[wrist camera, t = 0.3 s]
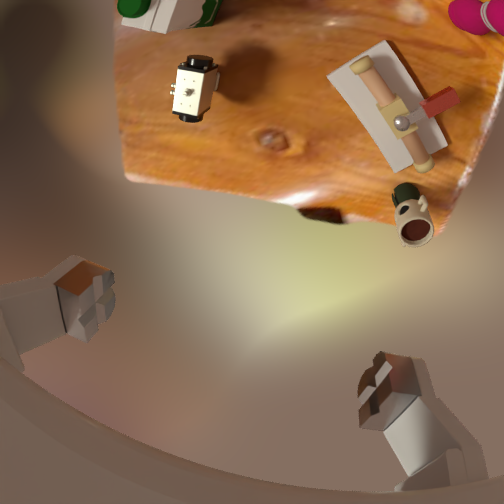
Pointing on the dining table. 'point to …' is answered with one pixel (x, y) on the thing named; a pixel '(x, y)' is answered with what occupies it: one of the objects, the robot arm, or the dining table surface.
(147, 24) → the milk carton
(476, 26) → the pepper mill
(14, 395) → the robot arm
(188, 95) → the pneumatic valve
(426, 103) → the lever
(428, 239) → the character mug
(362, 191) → the dining table surface
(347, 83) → the board
